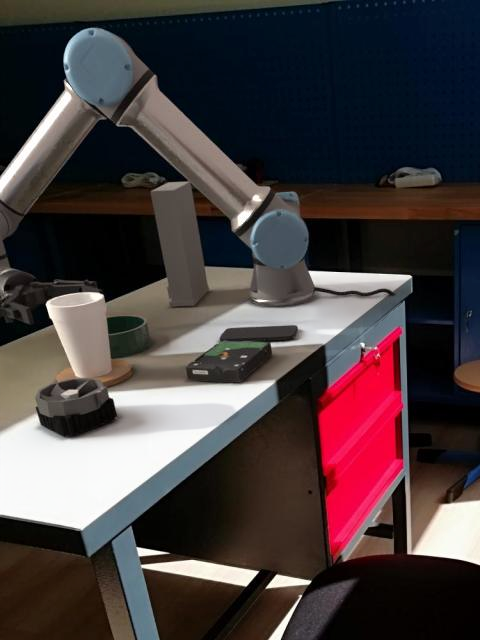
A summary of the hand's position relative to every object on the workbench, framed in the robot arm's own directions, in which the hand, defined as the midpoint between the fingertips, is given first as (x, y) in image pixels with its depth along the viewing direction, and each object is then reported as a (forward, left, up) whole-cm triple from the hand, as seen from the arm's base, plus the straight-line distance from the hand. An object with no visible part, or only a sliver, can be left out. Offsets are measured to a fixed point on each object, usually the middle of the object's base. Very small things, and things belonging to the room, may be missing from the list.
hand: (67, 306), depth 134 cm
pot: (+1, -14, -12) cm, 18 cm away
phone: (-26, -23, -12) cm, 36 cm away
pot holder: (-4, +2, -12) cm, 13 cm away
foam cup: (-4, +2, -11) cm, 12 cm away
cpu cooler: (-12, +21, -12) cm, 27 cm away
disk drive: (-27, -5, -12) cm, 30 cm away
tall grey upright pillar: (+2, -49, -12) cm, 50 cm away
